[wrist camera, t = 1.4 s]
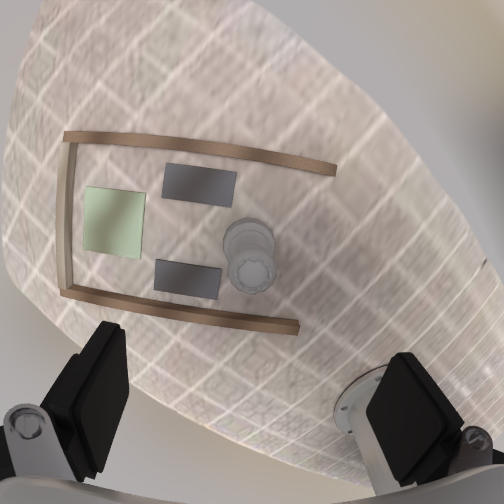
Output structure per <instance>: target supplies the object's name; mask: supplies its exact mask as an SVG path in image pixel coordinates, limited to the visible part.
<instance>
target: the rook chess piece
mask: <svg viewBox="0 0 504 504" xmlns="http://www.w3.org/2000/svg"><path fill="white" fill-rule="evenodd" d="M223 249H224V253H225V256H226V258H227V260H228V261H229V264H228V277H229V279H230V281H231V284H233V285H234V286H235V287H236V288H237V289H238V290H240V291H242V292H245V293H248V294H256V293H259V292H262V291H263V292H264V291H265V290H266V289H267V288H269V287H270V286H271V285H272V284H273V282H274V280H275V278H276V276H277V265H276V262H275V259H274V257H273V254H274V252H275V239H274V236H273V233H272V230H271V229H270V228H269V227H268V226H267V225H266V224H265V223H264V222H261V221H259V220H257V219H246V218H245V219H242V220H239V221H237V222H235V223H233V224H232V225H231V226H230V227H229V228H228V229H227V231H226V234H225V236H224V238H223Z"/></svg>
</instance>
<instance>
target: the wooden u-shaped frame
mask: <svg viewBox="0 0 504 504" xmlns="http://www.w3.org/2000/svg"><path fill="white" fill-rule="evenodd" d="M78 143H99V144H116V145H130V146H142V147H153V148H164V149H173V150H182V151H190V152H198V153H206V154H213V155H220V156H227V157H234V158H240V159H247V160H253V161H259V162H264V163H270V164H275V165H281V166H286V167H291V168H296V169H301V170H306V171H311V172H316V173H321V174H325V175H330V176H334V177H335V176H336V171H337V165H335V164H331V163H326V162H322V161H318V160H313V159H308V158H304V157H299V156H294V155H289V154H284V153H279V152H273V151H268V150H262V149H256V148H250V147H244V146H238V145H231V144H225V143H217V142H210V141H202V140H194V139H186V138H176V137H167V136H156V135H144V134H129V133H112V132H84V131H64V136H63V142H61V147H60V156H59V166H58V178H57V195H56V262H57V278H58V288H60V296H63V297H67V298H71V299H75V300H79V301H84V302H88V303H92V304H97V305H101V306H106V307H111V308H116V309H120V310H125V311H130V312H135V313H141V314H146V315H151V316H157V317H163V318H168V319H174V320H180V321H186V322H193V323H199V324H206V325H213V326H220V327H227V328H235V329H242V330H250V331H259V332H268V333H277V334H287V335H298V332H299V329H300V325H299V322H298V320H289V319H280V318H271V317H262V316H254V315H247V314H239V313H231V312H224V311H217V310H210V309H204V308H197V307H191V306H184V305H178V304H172V303H166V302H160V301H155V300H149V299H143V298H138V297H133V296H127V295H122V294H117V293H112V292H107V291H102V290H97V289H92V288H88V287H83V286H78V285H74V284H73V278H72V241H71V236H72V200H73V184H74V171H75V161H76V152H77V144H78ZM236 173H237V172H231V171H225V170H218V169H211V168H203V167H196V166H188V165H180V164H172V163H166V166H165V174H164V181H163V189H162V198H167V199H174V200H181V201H189V202H196V203H203V204H210V205H217V206H223V207H230V208H231V204H232V198H233V191H234V185H235V179H236ZM145 197H146V193H140V192H132V191H123V190H114V189H105V188H96V187H86V188H85V203H84V228H83V250H88V251H94V252H99V253H105V254H111V255H117V256H123V257H129V258H135V259H141V244H142V230H143V218H144V207H145ZM220 276H221V269H218V268H211V267H204V266H198V265H191V264H185V263H178V262H172V261H165V260H159V259H156V263H155V279H154V290H157V291H163V292H169V293H175V294H181V295H188V296H194V297H200V298H207V299H214V300H217V297H218V290H219V283H220Z"/></svg>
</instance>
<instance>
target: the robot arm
mask: <svg viewBox="0 0 504 504" xmlns="http://www.w3.org/2000/svg"><path fill="white" fill-rule="evenodd" d="M128 396H129V381H128V369H127V355H126V336H125V330H124V329H120V325H119V324H117V323H112V322H107V321H102V322H101V323H100V325H99V326H98V328H97V329H96V331H95V332H94V333H93V335H92V336H91V338H90V339H89V341H88V342H87V344H86V345H85V347H84V348H83V350H82V351H81V353H80V354H77V353H76V354H74V355H73V356H72V357H71V358H70V360H69V361H68V363H67V364H66V366H65V367H64V369H63V370H62V372H61V373H60V375H59V376H58V378H57V379H56V381H55V383H54V384H53V385H52V387H51V389H50V390H49V392H48V393H47V395H46V397H45V398H44V400H43V401H42V403H41V405H40V406H37V405H33V404H20V405H17V406H14V407H13V408H11V409H10V410H9V411H8V412H7V413H6V415H5V417H4V422H3V424H4V425H3V426H0V504H185V503H178V502H171V501H165V500H158V499H153V498H147V497H142V496H137V495H132V494H128V493H123V492H119V491H115V490H110V489H106V488H101V487H98V486H94V485H90V484H85V483H82V482H84V479H85V477H88V478H91V479H95V477H96V474H97V472H99V473H102V472H103V469H104V467H105V464H106V460H107V457H108V454H109V451H110V448H111V445H112V442H113V439H114V436H115V433H116V430H117V427H118V425H119V422H120V419H121V416H122V413H123V410H124V407H125V405H126V402H127V399H128ZM334 419H335V422H336V425H337V427H338V429H339V430H340V431H341V432H342V433H344V434H346V435H349V436H354V437H355V440H356V443H357V445H358V448H359V451H360V453H361V456H362V459H363V461H364V464H365V467H366V469H367V472H368V475H369V478H370V480H371V483H372V486H373V488H374V491H375V494H376V496H375V497H371V498H365V499H360V500H354V501H348V502H341V503H333V504H504V453H503V452H500V451H498V450H495V449H493V442H492V438H491V436H490V435H489V434H488V432H487V431H485V430H484V429H482V428H480V427H478V426H468V427H466V428H465V429H464V430H463V431H461V429H460V428H461V427H462V426H463V424H464V423H465V422H464V421H463V419H462V418H461V417H460V415H459V414H458V412H457V411H456V410H455V408H454V407H453V406H452V404H451V403H450V401H449V400H448V399H447V397H446V396H445V395H444V393H443V392H442V391H441V389H440V388H439V387H438V385H437V384H436V383H435V381H434V380H433V379H432V377H431V376H430V375H429V374H428V372H427V371H426V370H425V368H424V367H423V366H422V365H421V363H420V362H419V361H418V359H417V358H416V357H415V356H414V354H413V353H410V352H399V353H397V354H396V355H395V356H394V357H392V358H391V360H390V362H389V364H388V366H384V367H381V368H378V369H376V370H374V371H372V372H369V373H368V374H366V375H364V376H363V377H361V378H359V379H358V380H357V381H356V382H354V383H353V384H352V385H351V386H350V387H349V388H348V389H347V390H346V391H345V392H344V393H343V394H342V396H341V397H340V398H339V400H338V402H337V404H336V407H335V410H334Z"/></svg>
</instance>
